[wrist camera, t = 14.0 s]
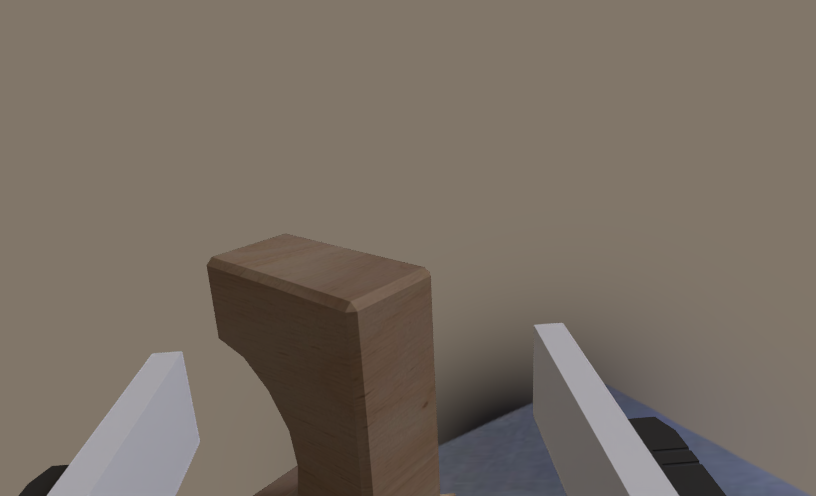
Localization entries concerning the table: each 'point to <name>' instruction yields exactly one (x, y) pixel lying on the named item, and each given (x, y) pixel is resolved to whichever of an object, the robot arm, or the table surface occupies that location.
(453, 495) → the plinth
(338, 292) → the decorative block
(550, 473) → the table surface
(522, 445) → the table surface
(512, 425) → the table surface
